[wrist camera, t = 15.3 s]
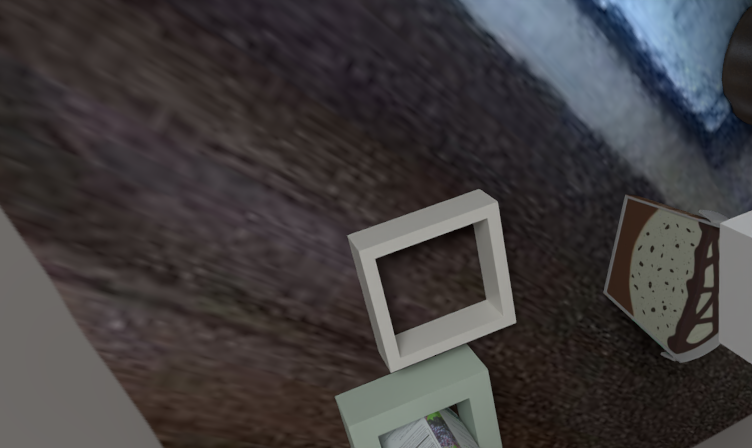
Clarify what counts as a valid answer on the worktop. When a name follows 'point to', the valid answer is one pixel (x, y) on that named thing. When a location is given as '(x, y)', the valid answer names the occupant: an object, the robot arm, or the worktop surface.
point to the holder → (455, 325)
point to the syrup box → (430, 433)
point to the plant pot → (740, 69)
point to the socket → (423, 399)
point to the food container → (668, 275)
